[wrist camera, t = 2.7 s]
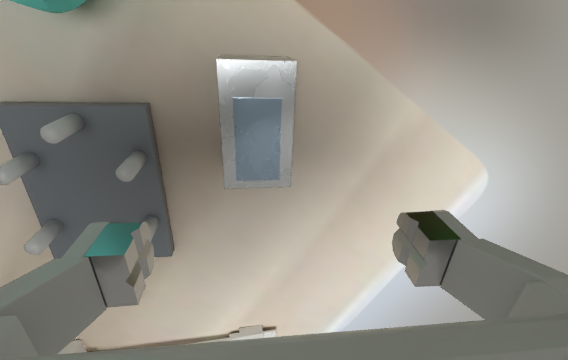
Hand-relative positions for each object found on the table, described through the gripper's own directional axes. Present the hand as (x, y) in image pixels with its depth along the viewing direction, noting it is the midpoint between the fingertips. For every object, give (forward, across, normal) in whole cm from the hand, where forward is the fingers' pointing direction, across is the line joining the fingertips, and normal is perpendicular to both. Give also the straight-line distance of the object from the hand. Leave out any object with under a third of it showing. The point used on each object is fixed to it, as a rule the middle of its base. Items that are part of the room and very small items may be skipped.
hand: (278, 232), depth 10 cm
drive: (+16, 0, 0) cm, 16 cm away
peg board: (+15, -13, -6) cm, 21 cm away
